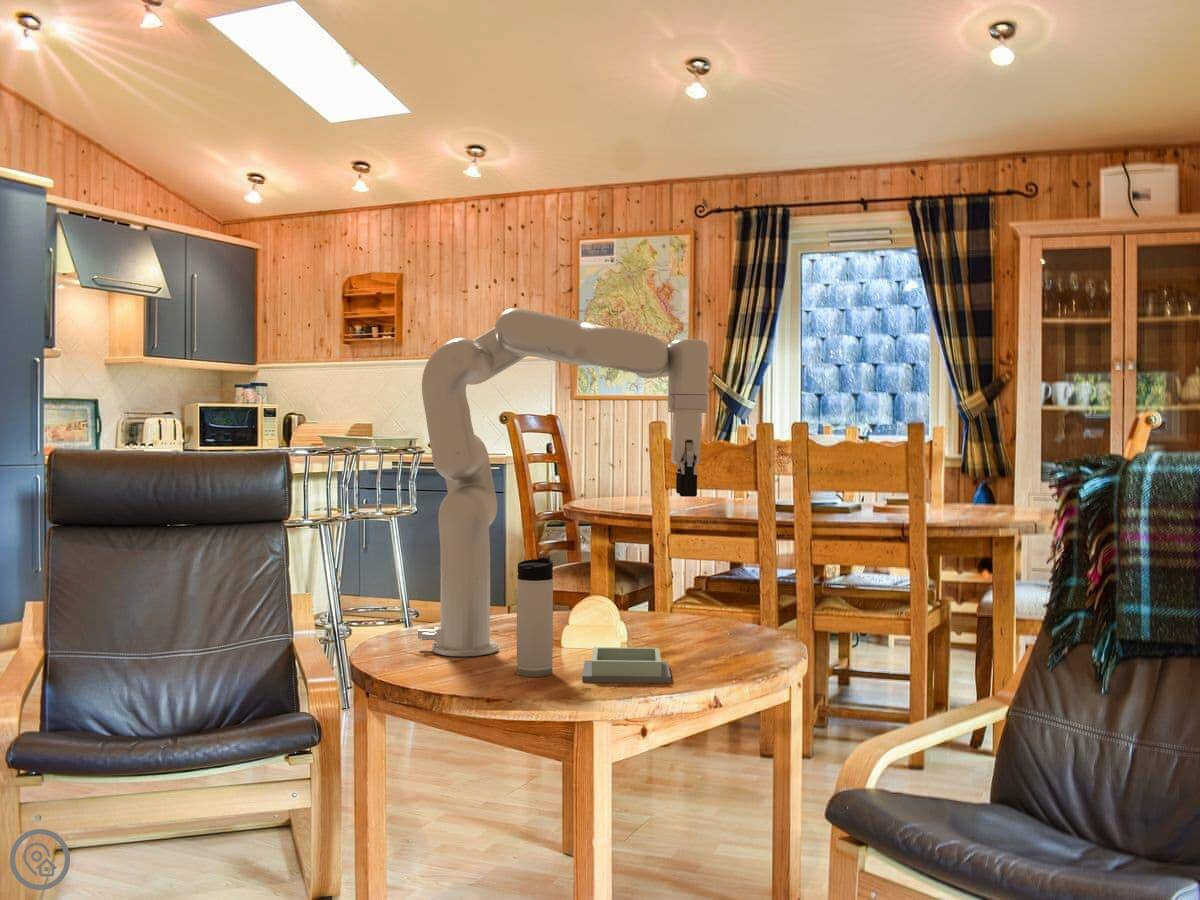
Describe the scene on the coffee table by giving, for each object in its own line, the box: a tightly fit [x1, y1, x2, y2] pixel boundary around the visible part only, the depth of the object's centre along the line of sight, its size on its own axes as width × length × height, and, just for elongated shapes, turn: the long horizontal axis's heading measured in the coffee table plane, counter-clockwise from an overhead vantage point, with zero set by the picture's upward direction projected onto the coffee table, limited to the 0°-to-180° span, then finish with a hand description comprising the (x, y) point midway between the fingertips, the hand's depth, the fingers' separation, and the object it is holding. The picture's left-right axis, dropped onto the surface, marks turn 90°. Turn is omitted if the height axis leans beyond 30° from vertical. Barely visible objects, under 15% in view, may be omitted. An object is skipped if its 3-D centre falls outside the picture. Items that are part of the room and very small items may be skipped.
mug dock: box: [581, 646, 672, 684], centre depth 187 cm, size 15×12×4 cm
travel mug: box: [516, 556, 554, 678], centre depth 187 cm, size 6×7×20 cm
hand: (686, 494), depth 203 cm, fingers open, 9 cm apart
